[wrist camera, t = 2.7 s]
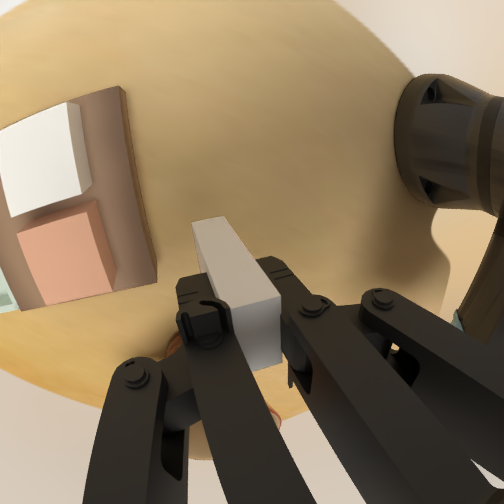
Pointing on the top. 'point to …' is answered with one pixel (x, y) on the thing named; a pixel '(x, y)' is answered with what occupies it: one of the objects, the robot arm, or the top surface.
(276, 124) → the top surface
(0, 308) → the tray
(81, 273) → the tile terracotta
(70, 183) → the tile white
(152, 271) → the board
